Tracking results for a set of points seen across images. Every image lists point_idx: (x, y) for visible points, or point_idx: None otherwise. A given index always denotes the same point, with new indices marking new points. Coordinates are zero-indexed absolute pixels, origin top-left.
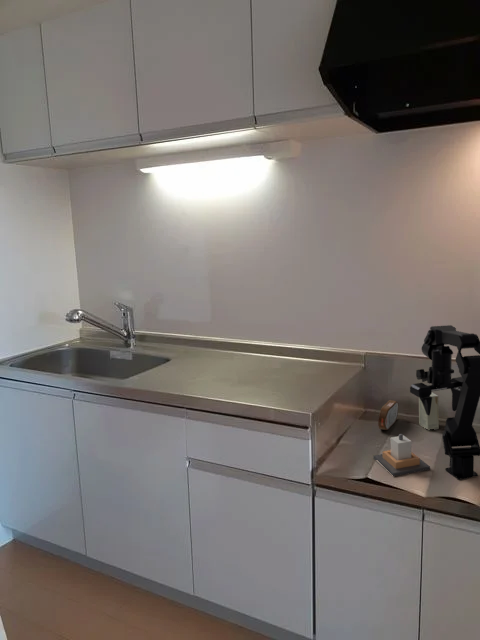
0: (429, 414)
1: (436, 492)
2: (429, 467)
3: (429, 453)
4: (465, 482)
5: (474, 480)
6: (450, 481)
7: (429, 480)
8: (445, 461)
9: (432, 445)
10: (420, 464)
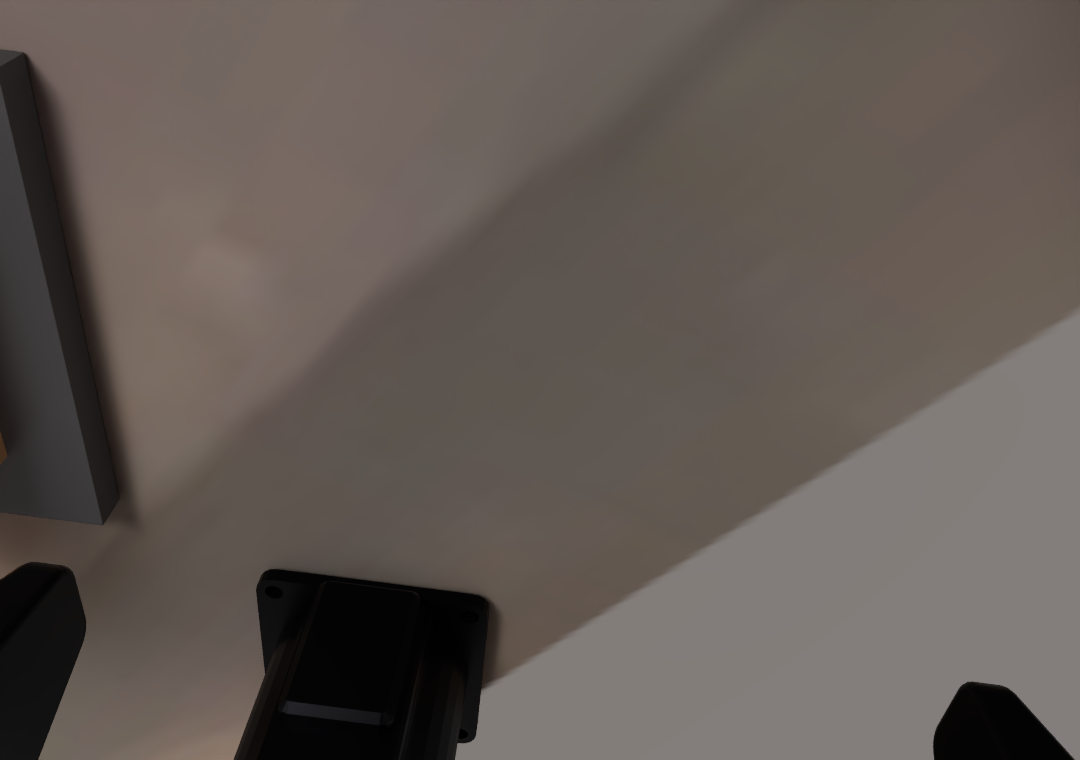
0: (65, 665)
1: None
2: (103, 515)
3: (320, 221)
4: None
5: None
6: (201, 685)
7: None
8: (382, 451)
9: (528, 26)
10: (14, 460)
